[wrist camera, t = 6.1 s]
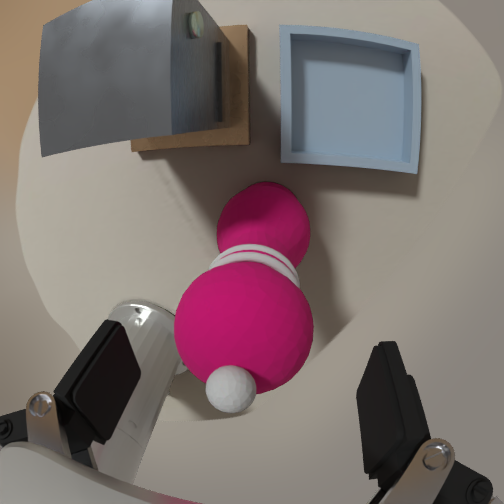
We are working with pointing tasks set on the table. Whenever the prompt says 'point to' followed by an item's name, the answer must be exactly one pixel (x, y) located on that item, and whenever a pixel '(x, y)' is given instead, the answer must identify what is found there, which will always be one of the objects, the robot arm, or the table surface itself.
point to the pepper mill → (249, 301)
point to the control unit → (142, 77)
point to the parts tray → (349, 99)
